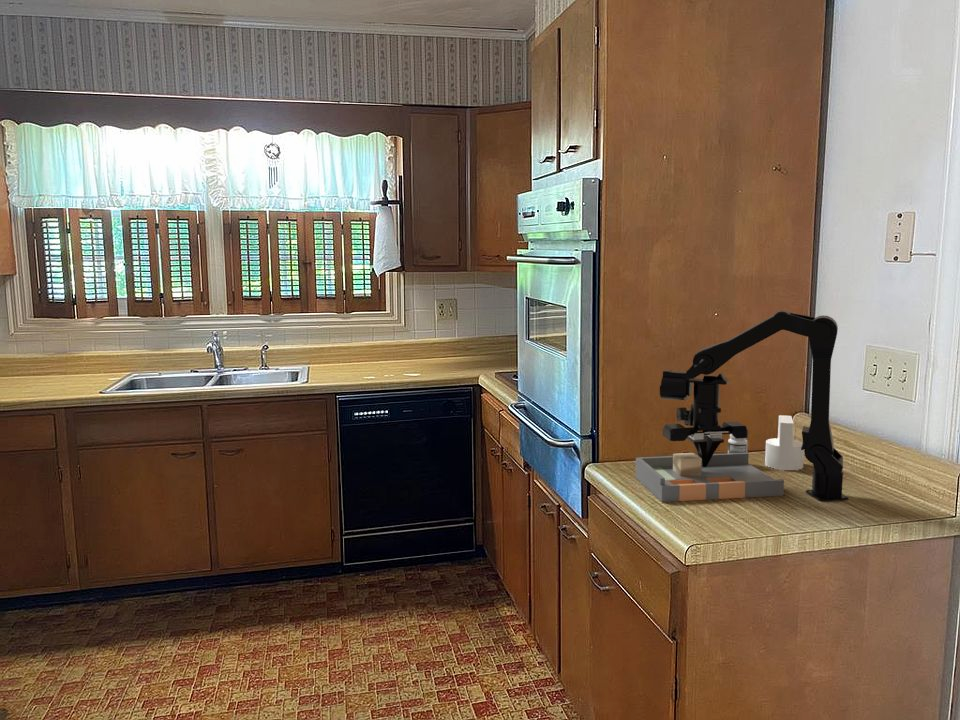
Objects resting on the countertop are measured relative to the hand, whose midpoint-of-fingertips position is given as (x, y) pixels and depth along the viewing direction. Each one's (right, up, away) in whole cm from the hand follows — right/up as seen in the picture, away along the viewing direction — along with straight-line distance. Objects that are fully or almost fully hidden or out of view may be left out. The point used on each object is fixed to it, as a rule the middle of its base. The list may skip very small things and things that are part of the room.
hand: (704, 466), depth 177 cm
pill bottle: (+13, -2, +15) cm, 20 cm away
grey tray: (0, -4, -3) cm, 5 cm away
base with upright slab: (+24, -2, +13) cm, 27 cm away
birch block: (-4, -1, 0) cm, 4 cm away
